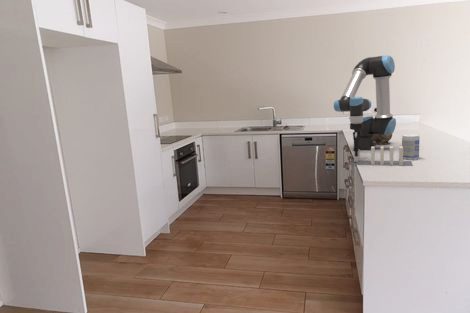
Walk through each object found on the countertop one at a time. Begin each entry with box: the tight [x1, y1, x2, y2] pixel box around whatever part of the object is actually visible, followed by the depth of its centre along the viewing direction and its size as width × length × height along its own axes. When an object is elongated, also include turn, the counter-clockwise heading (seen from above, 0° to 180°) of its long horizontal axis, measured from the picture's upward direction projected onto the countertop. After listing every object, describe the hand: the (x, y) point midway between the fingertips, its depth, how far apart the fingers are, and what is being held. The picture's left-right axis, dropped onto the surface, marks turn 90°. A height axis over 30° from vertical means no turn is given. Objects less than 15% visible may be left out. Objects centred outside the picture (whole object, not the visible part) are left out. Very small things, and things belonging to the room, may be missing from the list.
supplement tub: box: [401, 133, 420, 161], centre depth 212 cm, size 10×10×15 cm
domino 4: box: [389, 146, 394, 165], centre depth 201 cm, size 5×2×10 cm, turn 157°
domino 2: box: [370, 145, 376, 166], centre depth 205 cm, size 5×2×10 cm, turn 157°
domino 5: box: [398, 145, 404, 165], centre depth 199 cm, size 5×2×10 cm, turn 157°
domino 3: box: [379, 146, 385, 166], centre depth 203 cm, size 5×2×10 cm, turn 157°
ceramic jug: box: [373, 107, 393, 145], centre depth 266 cm, size 17×15×30 cm
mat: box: [349, 159, 414, 167], centre depth 207 cm, size 13×34×1 cm, turn 67°
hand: (356, 160), depth 214 cm, fingers closed on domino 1, 5 cm apart
